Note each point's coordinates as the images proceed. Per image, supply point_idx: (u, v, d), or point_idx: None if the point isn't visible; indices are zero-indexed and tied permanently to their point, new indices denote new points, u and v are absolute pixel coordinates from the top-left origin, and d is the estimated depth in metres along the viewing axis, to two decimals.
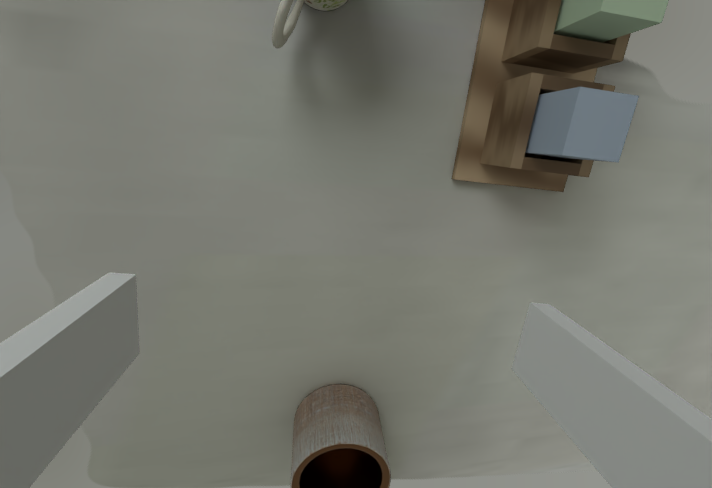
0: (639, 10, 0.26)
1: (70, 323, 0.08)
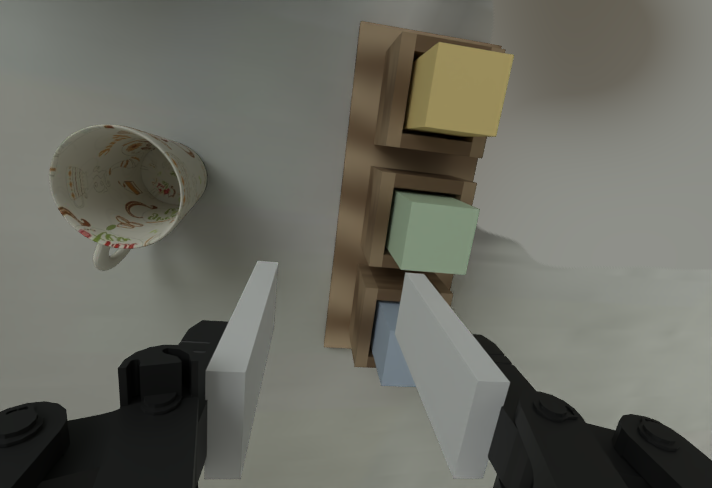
0: (440, 266, 0.26)
1: (267, 296, 0.10)
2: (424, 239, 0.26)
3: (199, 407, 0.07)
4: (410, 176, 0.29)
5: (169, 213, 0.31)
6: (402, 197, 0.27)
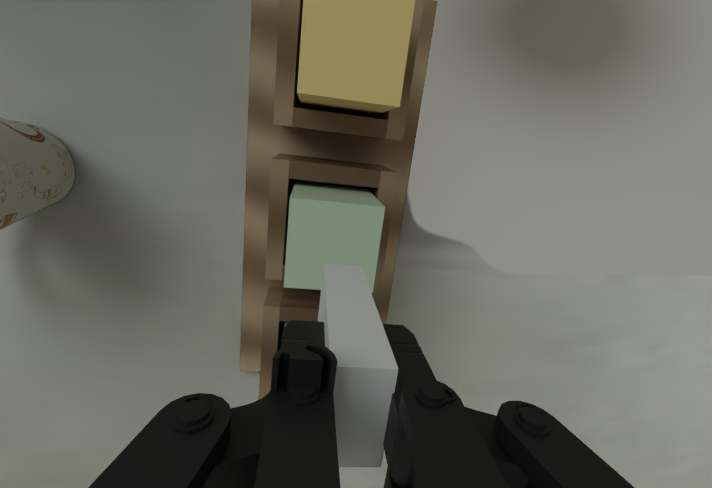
0: None
1: (349, 297, 0.11)
2: (312, 247, 0.19)
3: None
4: (309, 164, 0.22)
5: None
6: (292, 191, 0.21)
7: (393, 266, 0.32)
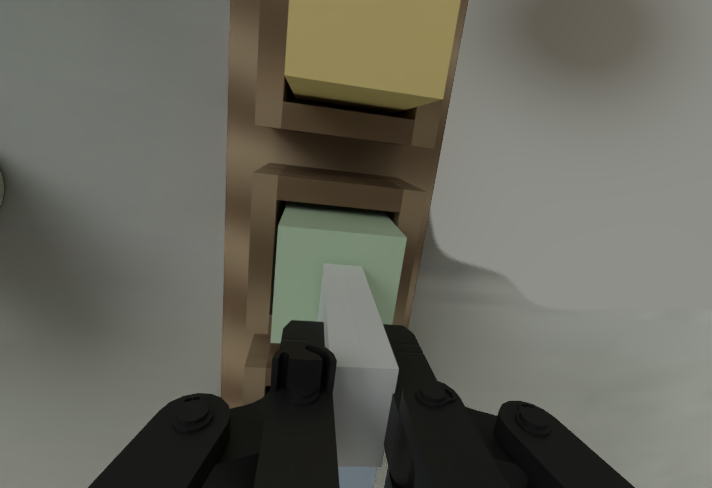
0: None
1: (349, 297, 0.11)
2: (309, 291, 0.14)
3: None
4: (305, 180, 0.16)
5: None
6: None
7: (411, 302, 0.25)
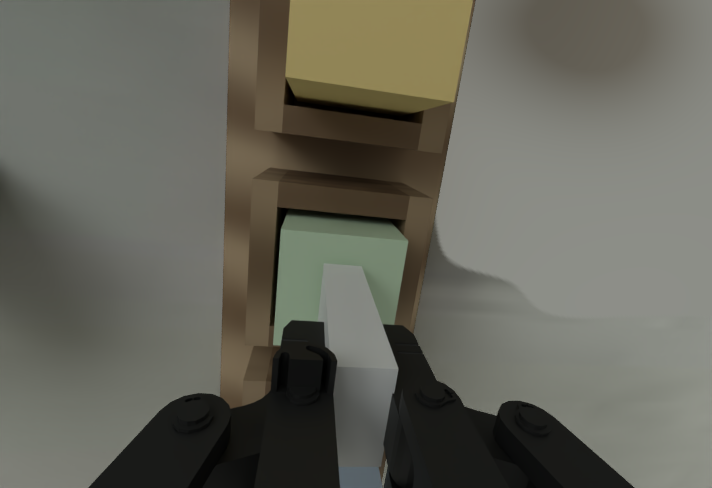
0: None
1: (349, 297, 0.11)
2: (311, 294, 0.14)
3: None
4: (307, 187, 0.15)
5: None
6: None
7: (415, 310, 0.25)
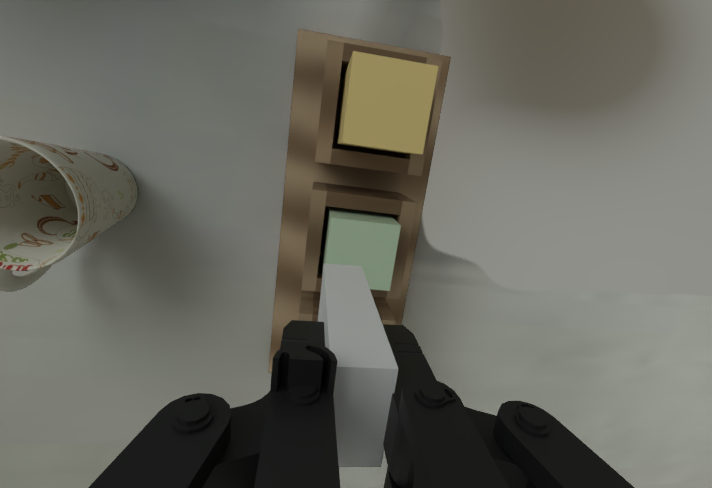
0: None
1: (349, 297, 0.11)
2: (345, 255, 0.25)
3: None
4: (343, 194, 0.27)
5: None
6: (329, 212, 0.27)
7: (408, 281, 0.36)
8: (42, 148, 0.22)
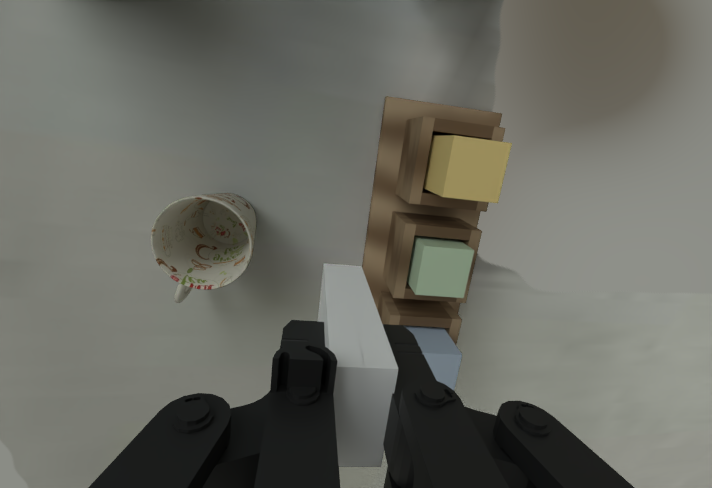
0: (445, 292, 0.35)
1: (349, 297, 0.11)
2: (433, 272, 0.34)
3: None
4: (428, 226, 0.35)
5: (228, 253, 0.38)
6: (416, 239, 0.36)
7: None
8: (227, 202, 0.30)
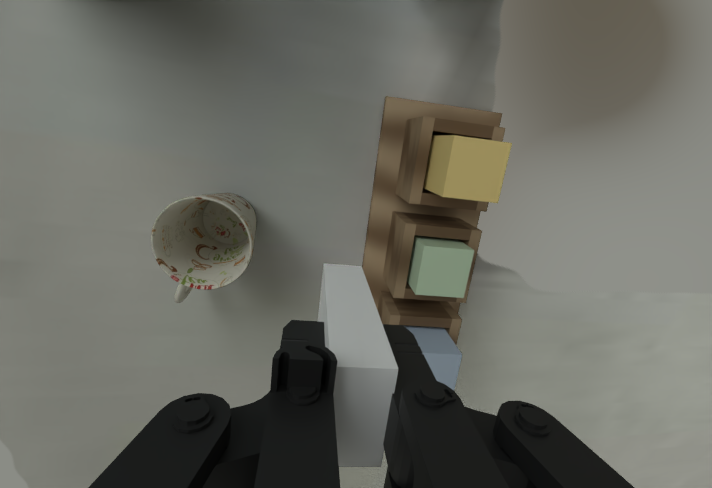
0: (445, 291, 0.35)
1: (349, 297, 0.11)
2: (433, 272, 0.34)
3: None
4: (428, 226, 0.35)
5: (228, 253, 0.38)
6: (416, 239, 0.36)
7: None
8: (227, 203, 0.30)
